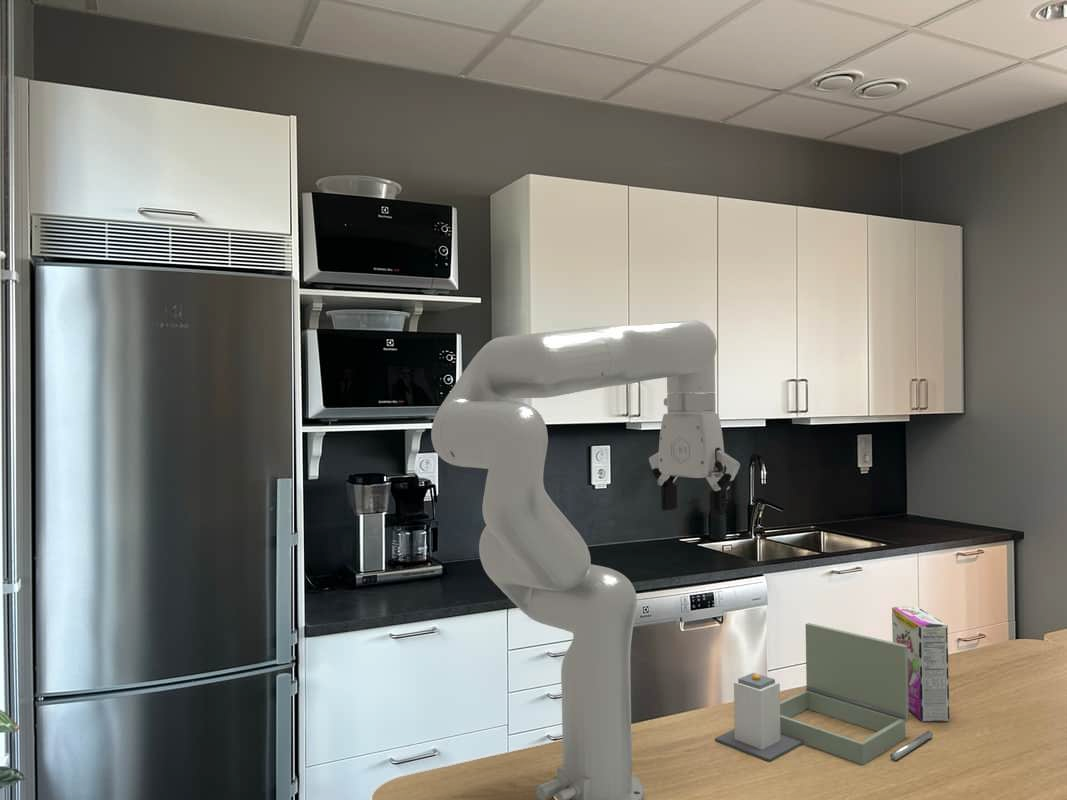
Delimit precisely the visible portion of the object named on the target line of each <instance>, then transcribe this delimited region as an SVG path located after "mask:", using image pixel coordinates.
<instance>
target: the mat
mask: <svg viewBox="0 0 1067 800" xmlns="http://www.w3.org/2000/svg"><path fill="white" fill-rule="evenodd" d="M714 741H715V742H717V743H720V744H722V743H723V745H725V746H728V747H730V746H731V748H733V749H735V750H738V751H740V752H743V753H745V754H747V755H751V756H754V757H756V758H758V759H761V760H764V761H765V762H766V761H767V762H768V763H771V762H772V761H773V760H775V759H779V758H780V757H782V756H784V755H786V754H787V753H789V752H791V751H792V750H795V749H796V748H798V747H801V746H802V745H804V744H803V742H802V741H799V740H796V739H794V738H791V737H788V736H785V735H782V734H780V741H778V742H776V743H774V744H772V745H770V746H768V747H766V748H764V749H762V750H761V749H759V748H756V747H754V746H751V745H748V744H746V743H743V742H741V741H738V740H735V728H734V729H731V730H729V731H727V732H725V733H723V734H720V735H719V736H716V737H715V738H714Z"/></svg>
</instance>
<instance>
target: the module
mask: <svg viewBox="0 0 1067 800" xmlns="http://www.w3.org/2000/svg"><path fill="white" fill-rule="evenodd" d="M780 685H781V684H780V682H777V681H776V679H775V678H772V677H768V676H765V675H762V674H758V673H755V672H751V673H749V674H746V675H745V676H742V677H739V678H738V680H736V681H735V682H733V706H734V707H733V711H734V712H733V714H734V716H733V717H734V719H733V720H734V729H735V740H738V741H741V742H743V743H746V744H748V745H751V746H754V747H756V748H759V749H761V750H762V749H764V748H766V747H768V746H770V745H772V744H774V743H776V742H778V741H780V701H781V695H780V694H781V692H780V691H781V688H780Z"/></svg>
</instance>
